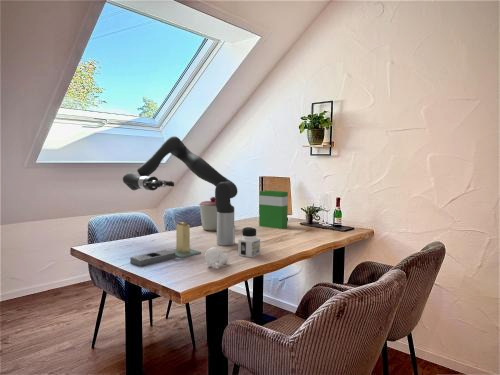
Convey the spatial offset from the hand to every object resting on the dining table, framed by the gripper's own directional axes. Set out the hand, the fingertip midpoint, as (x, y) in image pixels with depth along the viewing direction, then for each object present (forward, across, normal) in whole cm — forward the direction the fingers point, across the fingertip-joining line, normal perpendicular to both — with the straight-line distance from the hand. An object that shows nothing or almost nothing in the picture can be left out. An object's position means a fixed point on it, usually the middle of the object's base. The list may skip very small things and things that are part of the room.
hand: (166, 184), depth 183 cm
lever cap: (+16, -3, +31) cm, 35 cm away
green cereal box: (+5, +83, +32) cm, 89 cm away
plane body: (+16, -19, +32) cm, 41 cm away
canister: (-17, +48, +32) cm, 60 cm away
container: (+41, +18, +32) cm, 55 cm away
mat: (+16, -2, +32) cm, 36 cm away
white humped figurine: (+43, -5, +32) cm, 54 cm away
